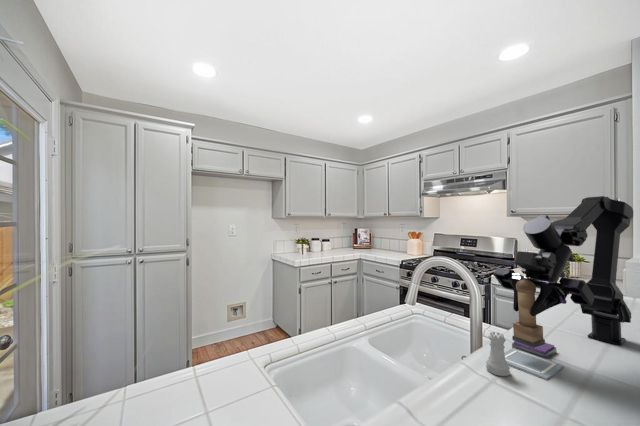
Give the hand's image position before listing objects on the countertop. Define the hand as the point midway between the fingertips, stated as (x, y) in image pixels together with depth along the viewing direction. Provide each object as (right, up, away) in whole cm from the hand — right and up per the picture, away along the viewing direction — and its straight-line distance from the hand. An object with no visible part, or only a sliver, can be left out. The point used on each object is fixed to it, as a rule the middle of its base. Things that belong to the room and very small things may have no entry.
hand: (523, 312), depth 62 cm
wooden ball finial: (+2, -7, 0) cm, 7 cm away
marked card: (+1, -12, 0) cm, 12 cm away
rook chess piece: (-8, -12, -4) cm, 15 cm away
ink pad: (+8, -12, +6) cm, 16 cm away
